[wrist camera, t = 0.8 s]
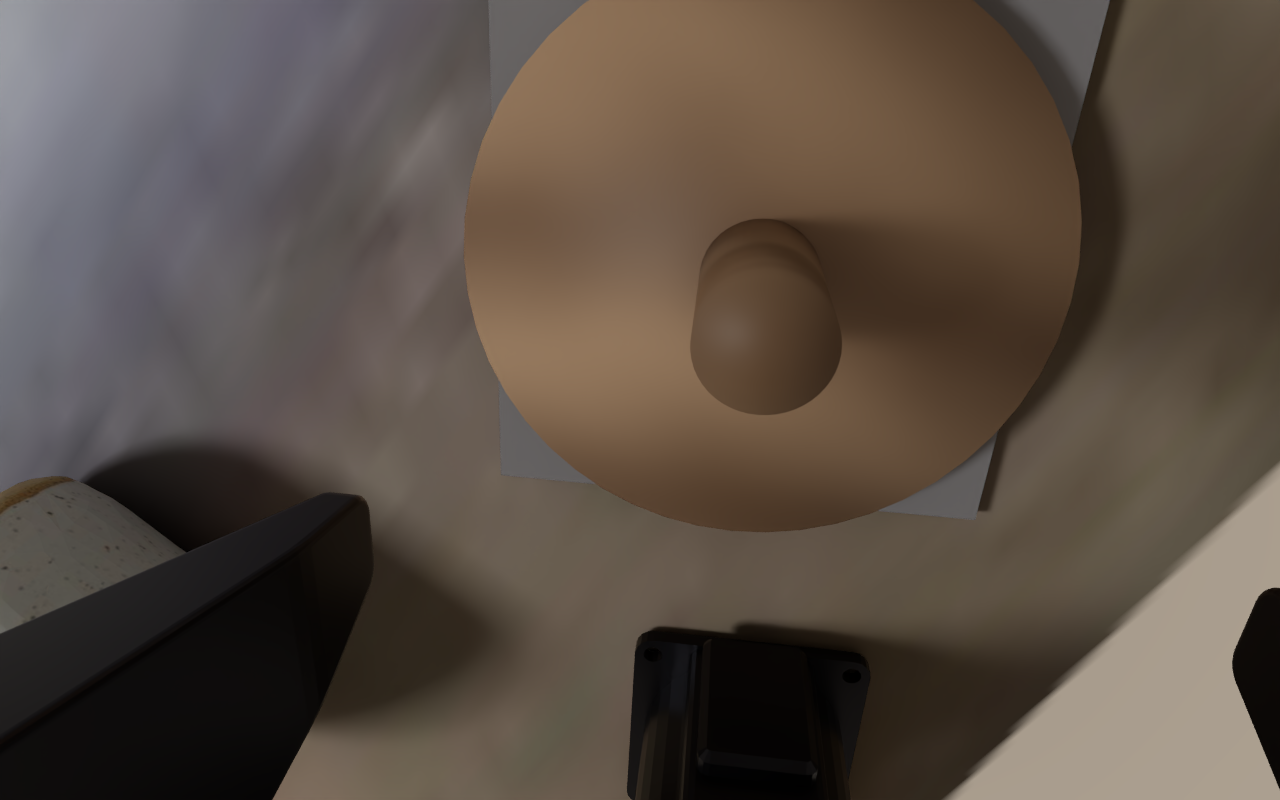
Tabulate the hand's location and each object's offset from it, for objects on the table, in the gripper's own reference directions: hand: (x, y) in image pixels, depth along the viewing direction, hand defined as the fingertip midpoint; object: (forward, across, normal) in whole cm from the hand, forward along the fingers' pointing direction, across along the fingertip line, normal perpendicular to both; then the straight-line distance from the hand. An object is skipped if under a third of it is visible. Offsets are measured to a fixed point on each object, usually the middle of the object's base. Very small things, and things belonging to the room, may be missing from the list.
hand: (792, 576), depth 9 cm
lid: (+12, 0, 0) cm, 12 cm away
